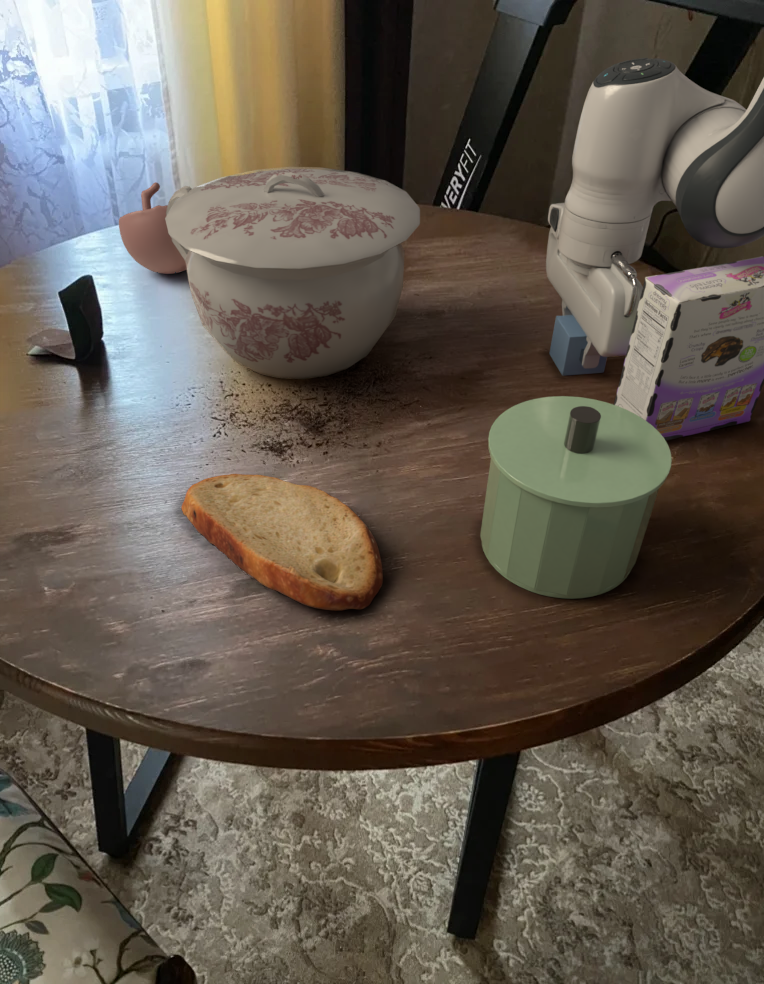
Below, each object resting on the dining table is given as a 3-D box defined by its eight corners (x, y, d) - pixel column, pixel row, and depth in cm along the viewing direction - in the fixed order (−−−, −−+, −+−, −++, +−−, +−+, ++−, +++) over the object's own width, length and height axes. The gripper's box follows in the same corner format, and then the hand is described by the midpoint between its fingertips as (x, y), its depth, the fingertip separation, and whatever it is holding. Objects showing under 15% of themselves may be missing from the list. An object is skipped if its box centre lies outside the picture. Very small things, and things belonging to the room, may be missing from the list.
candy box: (716, 395, 94) (764, 253, 82) (750, 424, 89) (806, 278, 78) (607, 418, 90) (643, 273, 79) (638, 448, 86) (679, 300, 75)
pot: (602, 490, 81) (626, 398, 74) (658, 590, 71) (692, 495, 64) (465, 502, 80) (476, 410, 73) (503, 606, 70) (520, 511, 63)
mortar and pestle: (200, 246, 124) (190, 165, 116) (225, 279, 115) (216, 195, 108) (119, 260, 120) (103, 178, 112) (139, 295, 112) (123, 209, 104)
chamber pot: (451, 384, 95) (468, 201, 81) (215, 433, 88) (189, 241, 74) (364, 281, 115) (366, 119, 101) (165, 314, 108) (137, 145, 94)
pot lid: (628, 400, 75) (638, 360, 72) (699, 505, 64) (714, 462, 62) (468, 413, 74) (473, 372, 71) (514, 521, 63) (521, 479, 60)
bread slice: (184, 488, 82) (178, 457, 79) (368, 479, 83) (368, 449, 80) (168, 627, 68) (161, 595, 66) (387, 614, 69) (388, 583, 67)
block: (589, 351, 101) (597, 313, 97) (603, 372, 97) (612, 334, 94) (549, 353, 100) (555, 315, 97) (562, 376, 97) (569, 337, 93)
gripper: (671, 276, 81) (638, 397, 90) (598, 197, 96) (576, 308, 105) (608, 280, 80) (582, 401, 90) (544, 200, 95) (527, 311, 105)
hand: (578, 350), depth 98 cm, fingers closed on block, 5 cm apart
